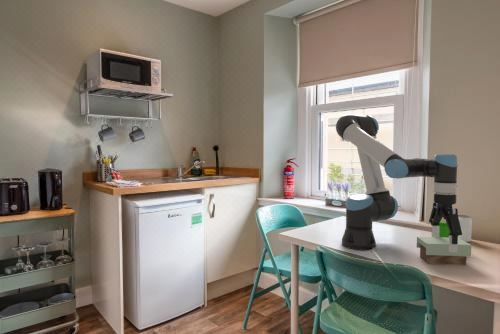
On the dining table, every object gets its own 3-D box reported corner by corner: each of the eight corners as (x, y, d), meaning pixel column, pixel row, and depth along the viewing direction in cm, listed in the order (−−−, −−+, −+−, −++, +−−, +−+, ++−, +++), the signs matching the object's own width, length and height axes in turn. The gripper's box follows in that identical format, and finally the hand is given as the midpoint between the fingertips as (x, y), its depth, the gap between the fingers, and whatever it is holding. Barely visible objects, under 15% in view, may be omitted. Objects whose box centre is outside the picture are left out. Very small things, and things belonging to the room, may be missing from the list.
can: (473, 242, 147) (474, 218, 146) (458, 241, 149) (459, 217, 148) (467, 238, 154) (468, 215, 153) (452, 237, 155) (453, 214, 154)
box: (427, 265, 120) (428, 247, 119) (419, 258, 126) (420, 242, 126) (466, 266, 118) (466, 249, 117) (456, 260, 125) (456, 243, 124)
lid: (426, 254, 118) (426, 243, 118) (416, 247, 127) (416, 236, 127) (470, 256, 117) (471, 244, 116) (457, 248, 125) (458, 237, 125)
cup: (432, 243, 146) (433, 220, 146) (454, 247, 141) (455, 223, 140) (428, 248, 139) (429, 224, 139) (452, 252, 134) (453, 227, 133)
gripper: (474, 198, 107) (472, 257, 109) (439, 189, 132) (438, 237, 133) (451, 198, 108) (450, 256, 109) (420, 189, 133) (419, 237, 134)
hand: (443, 246), depth 121 cm, fingers open, 13 cm apart
